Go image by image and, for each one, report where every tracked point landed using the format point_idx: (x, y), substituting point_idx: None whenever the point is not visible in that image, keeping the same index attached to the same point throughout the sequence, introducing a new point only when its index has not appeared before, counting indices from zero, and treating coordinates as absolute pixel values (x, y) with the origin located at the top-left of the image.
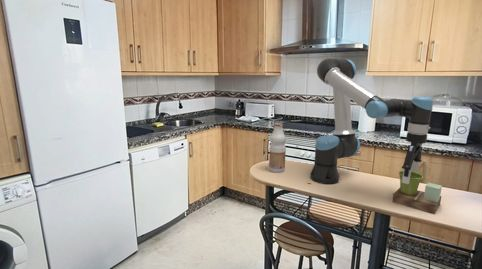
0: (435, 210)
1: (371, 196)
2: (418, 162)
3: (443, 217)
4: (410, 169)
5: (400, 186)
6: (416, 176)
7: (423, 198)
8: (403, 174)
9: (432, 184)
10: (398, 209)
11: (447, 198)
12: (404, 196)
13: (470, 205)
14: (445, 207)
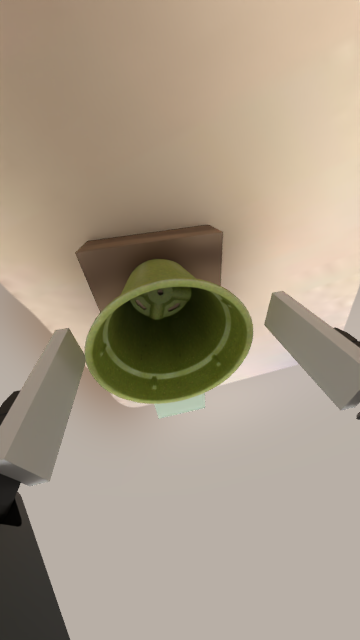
0: None
1: (26, 101)
2: (346, 407)
3: None
4: (9, 500)
5: (137, 272)
6: (226, 346)
7: None
8: (27, 389)
9: None
10: (45, 289)
11: (268, 334)
12: (98, 300)
13: (252, 369)
14: None
